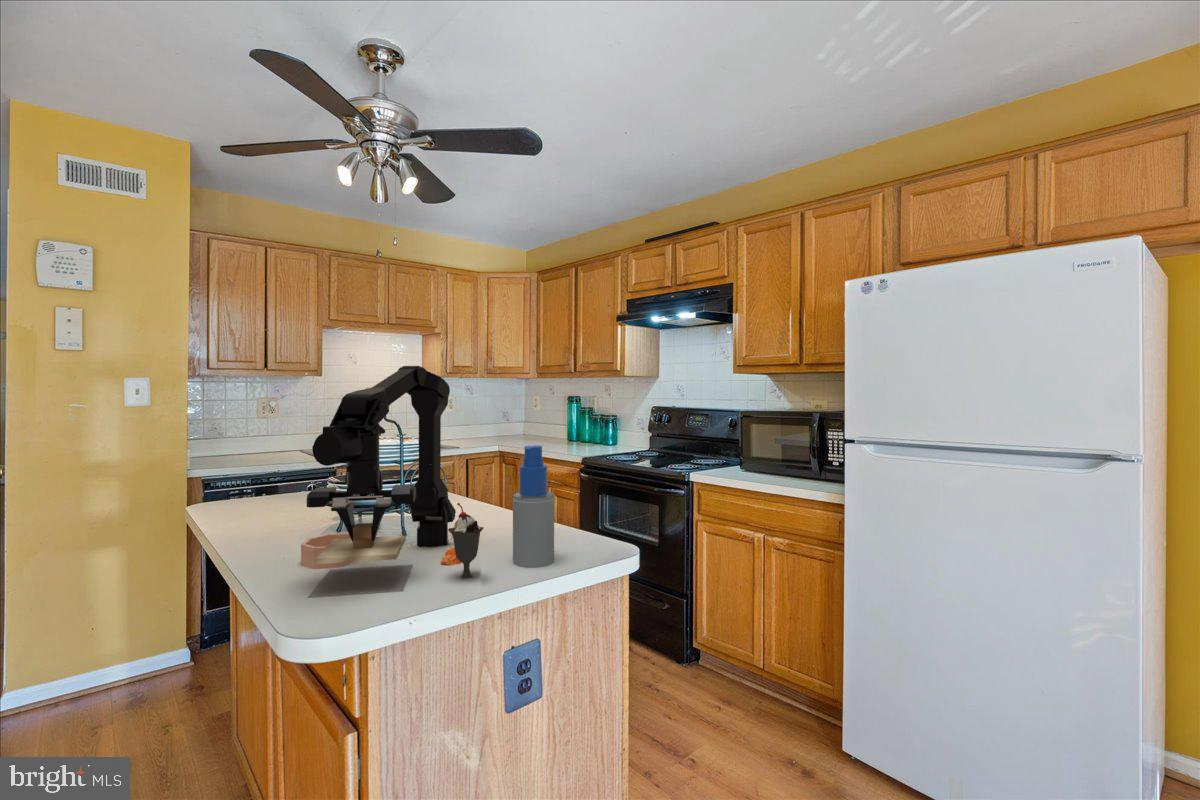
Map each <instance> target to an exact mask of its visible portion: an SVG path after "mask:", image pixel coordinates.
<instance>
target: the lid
mask: <svg viewBox="0 0 1200 800" xmlns="http://www.w3.org/2000/svg"><path fill="white" fill-rule="evenodd" d="M372 523H373V522H370V523H366V522H365V523H355V526H354V527H353V542H352V540H351V538H346V539H334V540H333V541H332V542H331V543H330V544H329V545H328V546H327V547H326V548H325V549H324V550H323V551H322V552H321V553H320V554H319V555H318V556H317V558H316V559H315V564H329V563H346V562H357V563H359V562H361V563H362V562H377V561H397V559H398V557H399V555H400V553H401V551H402V549H403V547H404V545H405V543H406V540H407V538H406V537H407V535H390V536H376V538H375V540H374V541H372Z"/></svg>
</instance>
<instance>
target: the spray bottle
mask: <svg viewBox="0 0 1200 800" xmlns="http://www.w3.org/2000/svg"><path fill="white" fill-rule="evenodd" d="M512 563H513V564H514V565H515V566H517V567H520V568H521V567H522V568H542V567H543V568H544V567H547V566H549V565H553V563H555V498H554V493H553V492H550V491H548V465H546V464H544V457H543V446H542V445H540V444H539V445H538V444H537V445H536V444H535V445H525V446H524V457H523V458H522V465H519V492H516V493H514V494H513V499H512Z"/></svg>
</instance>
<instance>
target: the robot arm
mask: <svg viewBox="0 0 1200 800" xmlns="http://www.w3.org/2000/svg"><path fill="white" fill-rule="evenodd" d="M450 392H451V390H450V385H449V383H448V382H447V381H446V380H445V379H444V378H442V377H441V376H440V375H438V374H435V373H433V372H431V371H428V370H427V369H426V368H425V367H423V366H420V365H402V366H401V367H399V368H398V370H397V371H395V372H393V373H392V374H391V375H389V376H388V377H386V378H384V379H383V380H382V381H379V383H376V384H375V385H373V386H372V387H369V388H365V389H359V390H355V391H352V392H348V393H346V394H345V395H344V396H343V397H342V398H341V402H340V404H339V405H338V407H337V410H336V412H335V414H334V415H333V418H332V419H331V422H330V423H329V426H323V427H322V433H320V434H319V435H318V436H317V437H316V439H315V440H314V443H313V445H312V455H313V457H314V459H315V461H316V462H317V463H318V464H320V465H322V466H325V467H327V466H335V465H339V464H344V463H346V470H345V475H344V484H345V485H346V490H345V491H341V490H339V491H337V488H336V487H335V486H332V487H331V486H330V487H329V486H328V487H316V488H314V489H312V490H310V492H308V494H307V495H306V508H325V507H326V506H327V505H329V503H332V506H331V508H330V511H331V512H336V513H337V516H338V517H339V518H340V519H341V521H342V523H343V524H344V527H345V528H346V529H345V530H346V531H347V533H349V536H350V538H351V540H352V542H353V527H354V526H355V525H356V523H355V513H354V512H355V511H354V509H355V508H354V507H355V502H356V501H357V502H358V501H375V502H376V504H375V505H374V506H373V511H372V515H373V516H372V522H371V523H372V541H374V540H375V538H376V537H377V535H378V531H379V528H380V526H381V522H382V519H383V517H384V515H385V513H386V510H389V509H392V506H393V505H407V504H408V506H409V511H410V515H411V519H412V522H413V523H417V522H418V523H419V524H418V525H419V526H417V529H416V546H417V547H419V548H424V547H425V548H437V547H445V546H449V544H450V543H449V542H450V540H449V531H448V529H449V523H453V522H454V520H455V519H456V512H457V511H456V508H455V506H453V504H452V502H451V500H450V499H449V492H448V491H449V490H448V487H447V486H446V485H445V482H444V481H443V479H442V478H441V453H442V451H441V449H442V448H441V447H442V445H441V442H442V441H441V438H442V437H441V435H442V434H441V433H442V431H441V429H442V427H441V425H442V422H441V421H442V419H441V418H442V414H443V413H444V411H445V410H446V409H447V407H448V405H449V396H450ZM405 394H407V395H408V396H410V402H411V403H410V404H411V406H412V408H413V409H414V411H415V412H416V414H417V416H418V478H417V480H416V482H415V484H395V485H394V486H393V487H392V488H391V489H383V487H384V473H383V472H382V471H381V469H380V435H381V434H382V435H383V434H385V433H386V430H385V428H384V427H382V426H381V425H380V422H381V421H382V420H383V419H384V418H385V417H386V416H387V415H388V413H390V406H391V404H393V403H394V402H395V401H397V400H398V399H400V398H402V397H403V396H404V395H405ZM430 464H431V465H430ZM354 501H355V502H354Z"/></svg>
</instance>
